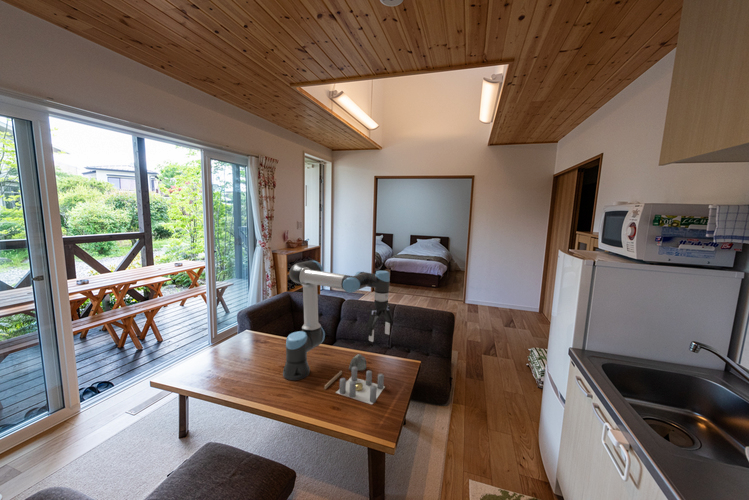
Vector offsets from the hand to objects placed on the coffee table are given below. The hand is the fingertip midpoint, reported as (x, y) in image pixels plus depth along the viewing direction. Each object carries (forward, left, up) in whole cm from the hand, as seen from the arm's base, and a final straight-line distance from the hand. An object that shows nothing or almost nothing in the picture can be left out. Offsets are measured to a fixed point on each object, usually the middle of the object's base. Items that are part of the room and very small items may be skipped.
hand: (379, 337), depth 156 cm
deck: (-9, -10, -28) cm, 31 cm away
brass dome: (-7, -10, -26) cm, 29 cm away
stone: (-17, +10, -28) cm, 34 cm away
